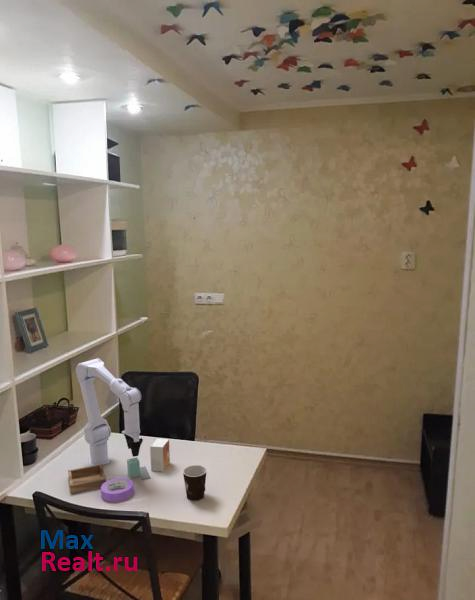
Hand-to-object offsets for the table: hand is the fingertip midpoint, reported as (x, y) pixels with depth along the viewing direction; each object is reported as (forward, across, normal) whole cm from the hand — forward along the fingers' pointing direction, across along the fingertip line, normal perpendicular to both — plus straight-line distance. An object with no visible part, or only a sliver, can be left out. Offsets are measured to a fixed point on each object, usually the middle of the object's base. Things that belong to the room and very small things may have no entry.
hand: (133, 452), depth 191 cm
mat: (+10, 0, 0) cm, 10 cm away
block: (+9, 0, 0) cm, 9 cm away
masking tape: (+10, +11, -9) cm, 18 cm away
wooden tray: (+10, -2, -18) cm, 21 cm away
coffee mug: (+10, +27, +16) cm, 33 cm away
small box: (+10, -2, +12) cm, 16 cm away
